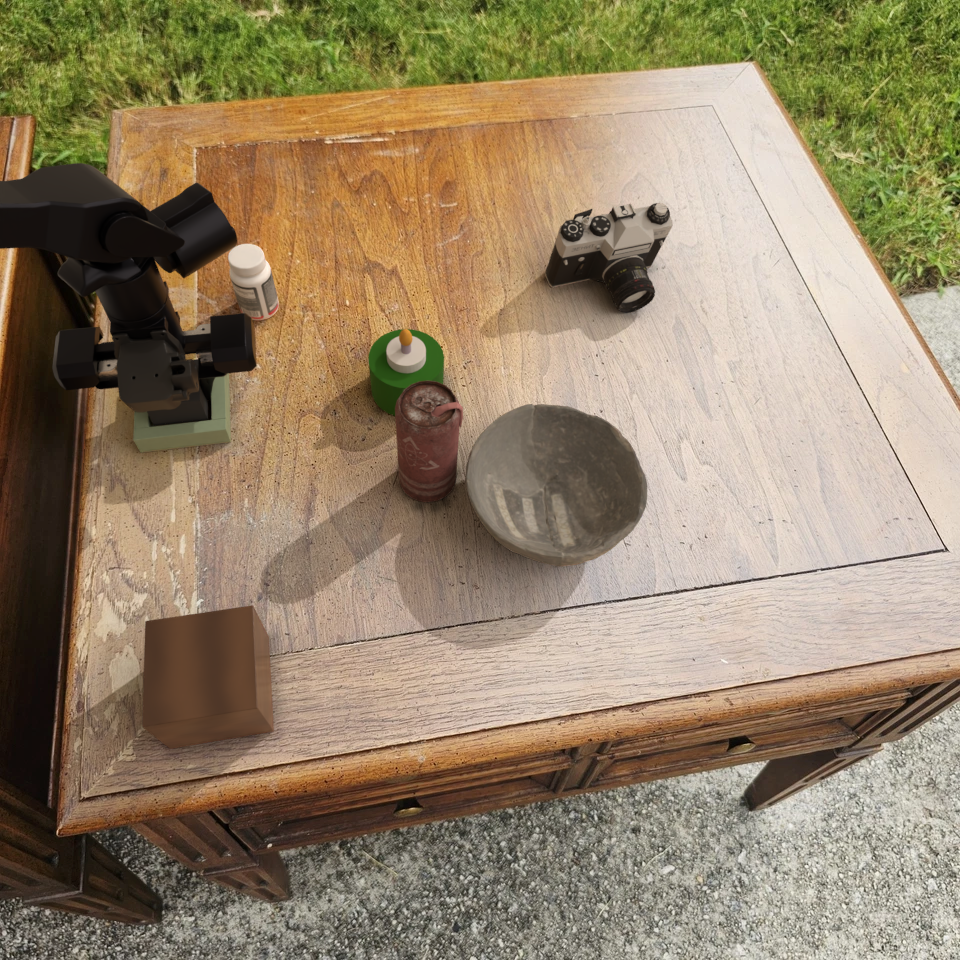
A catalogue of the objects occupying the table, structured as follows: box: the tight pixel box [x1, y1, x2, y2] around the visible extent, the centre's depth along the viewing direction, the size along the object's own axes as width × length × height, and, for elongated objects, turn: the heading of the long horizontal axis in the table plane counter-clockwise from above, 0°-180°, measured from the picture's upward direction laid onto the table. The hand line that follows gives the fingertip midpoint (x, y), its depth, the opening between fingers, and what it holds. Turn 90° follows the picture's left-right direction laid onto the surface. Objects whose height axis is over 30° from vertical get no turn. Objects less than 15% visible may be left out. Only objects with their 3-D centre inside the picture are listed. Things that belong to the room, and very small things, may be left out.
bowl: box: [464, 403, 648, 568], centre depth 80 cm, size 18×18×8 cm
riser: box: [141, 604, 275, 750], centre depth 69 cm, size 9×9×8 cm
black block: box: [147, 358, 209, 426], centre depth 84 cm, size 6×6×4 cm
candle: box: [367, 328, 445, 417], centre depth 87 cm, size 8×8×10 cm
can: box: [394, 380, 464, 503], centre depth 79 cm, size 6×6×14 cm
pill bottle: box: [227, 243, 280, 321], centre depth 93 cm, size 5×5×8 cm
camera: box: [544, 202, 673, 314], centre depth 97 cm, size 15×11×10 cm
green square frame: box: [132, 373, 232, 454], centre depth 87 cm, size 10×10×2 cm
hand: (180, 400), depth 86 cm, fingers closed on black block, 6 cm apart
